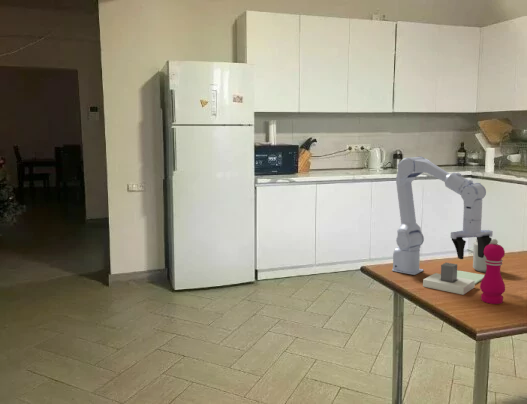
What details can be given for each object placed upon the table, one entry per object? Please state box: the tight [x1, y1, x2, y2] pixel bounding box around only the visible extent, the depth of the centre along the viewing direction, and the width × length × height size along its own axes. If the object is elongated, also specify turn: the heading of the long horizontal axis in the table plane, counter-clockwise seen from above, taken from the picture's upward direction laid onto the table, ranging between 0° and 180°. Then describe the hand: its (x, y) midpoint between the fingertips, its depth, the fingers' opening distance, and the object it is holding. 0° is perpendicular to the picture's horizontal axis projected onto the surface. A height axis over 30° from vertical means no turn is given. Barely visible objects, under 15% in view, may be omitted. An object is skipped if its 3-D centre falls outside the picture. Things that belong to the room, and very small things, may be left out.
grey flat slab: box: [422, 272, 476, 296], centre depth 171 cm, size 14×10×2 cm
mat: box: [457, 269, 485, 285], centre depth 181 cm, size 12×12×1 cm
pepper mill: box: [479, 238, 506, 305], centre depth 155 cm, size 7×7×20 cm
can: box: [472, 238, 493, 273], centre depth 189 cm, size 8×8×12 cm
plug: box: [440, 262, 458, 283], centre depth 170 cm, size 4×4×8 cm
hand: (470, 257), depth 170 cm, fingers open, 7 cm apart
